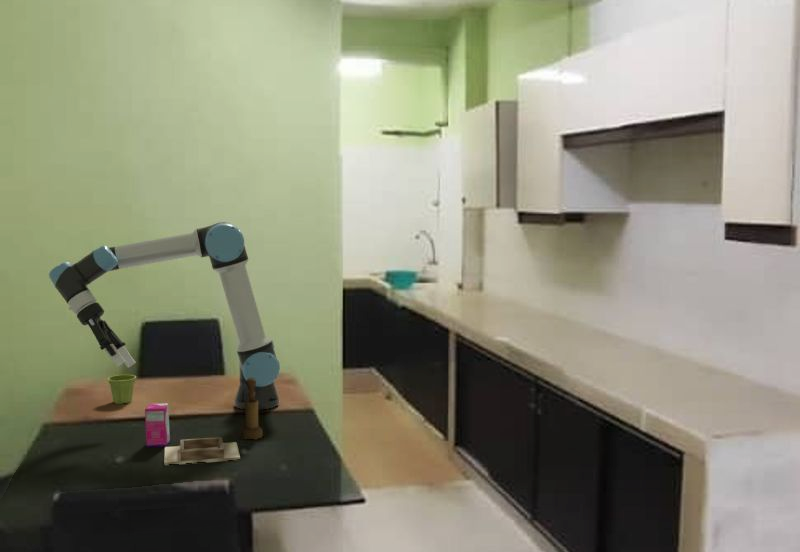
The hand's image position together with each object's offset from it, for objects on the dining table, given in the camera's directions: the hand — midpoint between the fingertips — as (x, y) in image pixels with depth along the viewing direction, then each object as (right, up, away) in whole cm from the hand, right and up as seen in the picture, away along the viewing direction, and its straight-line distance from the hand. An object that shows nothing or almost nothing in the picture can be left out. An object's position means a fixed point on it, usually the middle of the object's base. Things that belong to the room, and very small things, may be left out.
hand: (126, 364), depth 251 cm
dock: (+28, -23, -21) cm, 42 cm away
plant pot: (-13, -17, +36) cm, 42 cm away
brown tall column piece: (+39, -22, -3) cm, 44 cm away
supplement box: (+13, -22, -11) cm, 28 cm away
